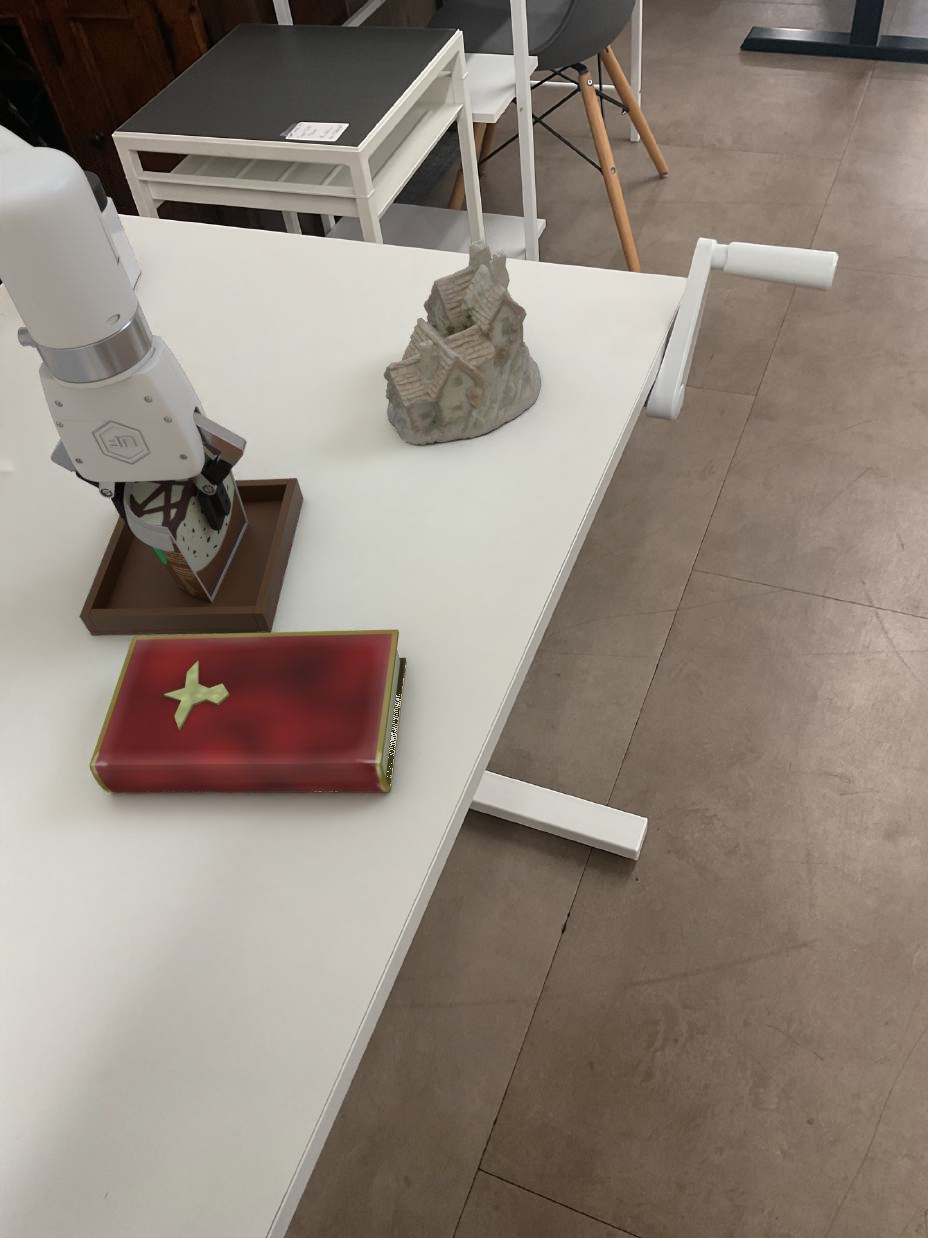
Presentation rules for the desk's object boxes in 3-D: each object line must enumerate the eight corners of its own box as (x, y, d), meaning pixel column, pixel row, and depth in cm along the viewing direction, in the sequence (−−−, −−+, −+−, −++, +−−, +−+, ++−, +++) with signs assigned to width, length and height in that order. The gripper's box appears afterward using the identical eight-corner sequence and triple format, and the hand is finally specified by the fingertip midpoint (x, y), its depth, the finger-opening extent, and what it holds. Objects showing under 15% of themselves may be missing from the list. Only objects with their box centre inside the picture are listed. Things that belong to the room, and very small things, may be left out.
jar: (83, 266, 123) (39, 171, 113) (147, 261, 122) (108, 164, 112) (61, 309, 117) (13, 213, 108) (128, 304, 116) (86, 206, 107)
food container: (191, 506, 92) (152, 421, 85) (253, 510, 91) (220, 424, 83) (138, 610, 85) (91, 527, 77) (205, 616, 84) (164, 533, 76)
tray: (91, 635, 84) (78, 616, 82) (141, 503, 94) (131, 483, 92) (270, 632, 82) (262, 613, 80) (303, 497, 92) (296, 477, 90)
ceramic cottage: (509, 317, 105) (488, 185, 93) (562, 416, 95) (545, 282, 83) (367, 364, 105) (327, 237, 93) (406, 468, 95) (366, 341, 83)
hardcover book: (390, 797, 71) (379, 766, 68) (109, 797, 74) (86, 768, 71) (406, 660, 79) (397, 627, 76) (150, 665, 82) (131, 633, 78)
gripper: (-41, 378, 69) (69, 555, 83) (200, 366, 67) (272, 550, 81) (-1, 313, 74) (96, 491, 88) (226, 300, 71) (289, 485, 85)
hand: (180, 518), depth 84 cm, fingers closed on food container, 6 cm apart
